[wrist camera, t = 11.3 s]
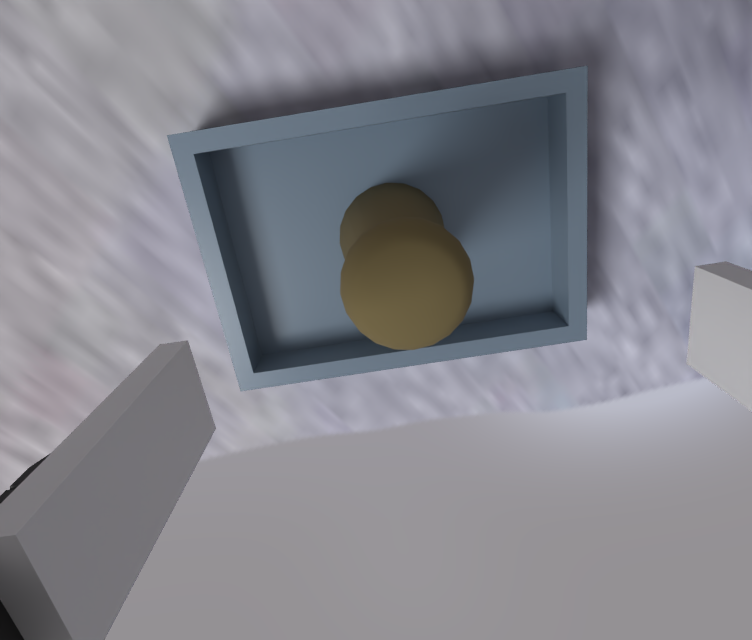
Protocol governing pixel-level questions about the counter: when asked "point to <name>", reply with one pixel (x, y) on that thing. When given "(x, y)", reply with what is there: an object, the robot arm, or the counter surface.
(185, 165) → the tray
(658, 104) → the counter surface
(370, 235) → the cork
